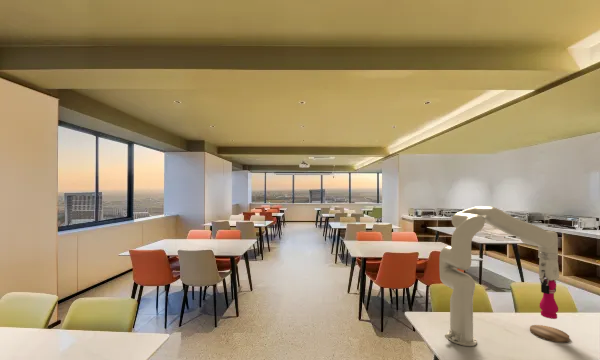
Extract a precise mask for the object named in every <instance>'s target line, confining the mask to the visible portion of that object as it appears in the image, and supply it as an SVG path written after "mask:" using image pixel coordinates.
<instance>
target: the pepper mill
mask: <svg viewBox="0 0 600 360" xmlns="http://www.w3.org/2000/svg"><path fill="white" fill-rule="evenodd" d="M545 279H547V278H545ZM545 281H547V280H545ZM548 286H549V294H546V293H542V298H541V299H540V302H539V309H541V310H540V316H542V317H543V318H546V319H551V320H557V319H558V314H557V313H558V312H559V307H558V304H557V302H556V300H555V294H556V292H555V290H554V289H555V288H556V289H557V282H556V283H555V281H553V280H549V284H548Z"/></svg>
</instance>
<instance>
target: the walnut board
mask: <svg viewBox="0 0 600 360" xmlns="http://www.w3.org/2000/svg"><path fill="white" fill-rule="evenodd" d="M529 332H530V333H531V334H533V336H535V337H538V338H539V339H543V340H546V341H549V342H553V343H554V342H555V343H559V344H560V343H563V344H564V343H569V342H570V335H569V334H568V333H566V332H564V331H563V330H560V329H558V328H555V327H552V326H548V325H543V324H534V325H533V324H532V325H529Z"/></svg>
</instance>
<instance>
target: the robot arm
mask: <svg viewBox="0 0 600 360" xmlns="http://www.w3.org/2000/svg"><path fill="white" fill-rule="evenodd" d="M451 224H452V226H453V227H454V228H455V229H454V231H453V232H452V234H451V235H452V236H451V239H450V241H451V242H450V243H451V244H450V245H448V246H444V247H443V248H441V250H440V253H439V256H438V257H439V258H438V259H439V266H438V267H439V279H440V282H441V283H442V284H443V286H446V287H448V288H450V289H451V290H452V293H451V295H450V299H449V310H450V311H449V316H450V317H449V321H450V323H449V325H450V326H449V331H448V332H446V334H445V335H444V338H445V339H447V340H449V341H450V342H451V343H454V344H456V345H459V346H464V347H474V346H476V345H477V344H478V340H477V338H476V337H475V336H474V307H473V306H474V294H475V290H476V283H475V279H473V277H472V276H471V275H470V274H468V273H465V272H463V271H467V270H469V269H470V268H471V266H472V241H473V238H474V237H475V235H476V234H478V233H479V232H481V230H482V229H483V228H484V226H485V224H488V225H490V226H492V227H494V228H496V229H498V230H500V231H501V232H504V233H505V234H507V235H510V236H513V237H516V238H517V237H518V238H519V240H520V241H521V242H522V243H523V244H525V245H528V246H534V247H538V248H537V250H538V251H537V252H538V255H537V256H538V257H537V258H539V259H538V260H539V261H538V262H539V264H538V277H539V281H540V293H542V294H543V293H546V294H549V286H548V284H549V280H553V281H555V283H556V284H557V280H558V279H560V269H559V268H560V267H559V262H558V261H559V251H558V250H559V249H558V248H559V246H558V241H559V240H558V239H559V237H558V233H557V232H556V231H553V230H545V229H543V228H541V227H539V226H537V225H534V224H531V223H529V222H526V221H524V220H521V219H518V218H516V217H514V216H512V215H510V214H509V213H506V212H504V211H503V210H501V209H499V208H497V207H494V206H484V205H479V206H478V205H477V206H474V207H470V208H467V209H465V210H462V211H458V212H456V213H454V215H453V216H452V217H451ZM546 278H547V279H546ZM545 280H547V281H545ZM554 290H555V293H556V292H557V287H556V288H555V289H554Z"/></svg>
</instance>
